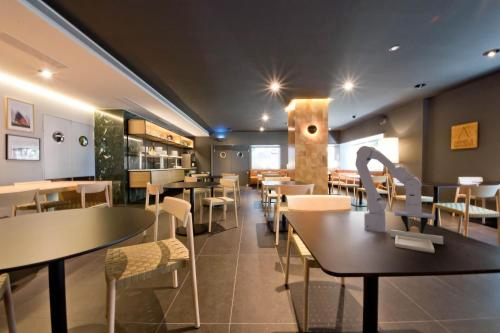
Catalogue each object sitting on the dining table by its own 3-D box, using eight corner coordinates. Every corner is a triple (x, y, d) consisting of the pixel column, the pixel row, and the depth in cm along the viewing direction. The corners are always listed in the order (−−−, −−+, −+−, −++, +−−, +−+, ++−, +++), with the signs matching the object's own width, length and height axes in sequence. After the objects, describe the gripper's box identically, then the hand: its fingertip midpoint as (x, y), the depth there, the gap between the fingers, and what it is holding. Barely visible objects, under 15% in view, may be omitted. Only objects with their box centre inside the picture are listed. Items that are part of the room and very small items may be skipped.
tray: (395, 246, 84) (395, 243, 84) (395, 238, 94) (395, 235, 94) (434, 253, 77) (434, 249, 77) (430, 243, 87) (430, 240, 87)
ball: (408, 236, 95) (408, 227, 96) (408, 234, 99) (408, 224, 99) (421, 238, 93) (420, 228, 93) (420, 235, 96) (420, 226, 96)
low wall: (390, 236, 96) (390, 230, 96) (390, 235, 97) (390, 229, 97) (443, 244, 85) (443, 237, 85) (442, 243, 86) (442, 236, 86)
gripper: (394, 203, 97) (395, 232, 97) (435, 206, 89) (436, 238, 88) (394, 201, 103) (395, 229, 103) (433, 204, 94) (434, 233, 94)
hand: (414, 233), depth 96 cm, fingers closed on ball, 4 cm apart
